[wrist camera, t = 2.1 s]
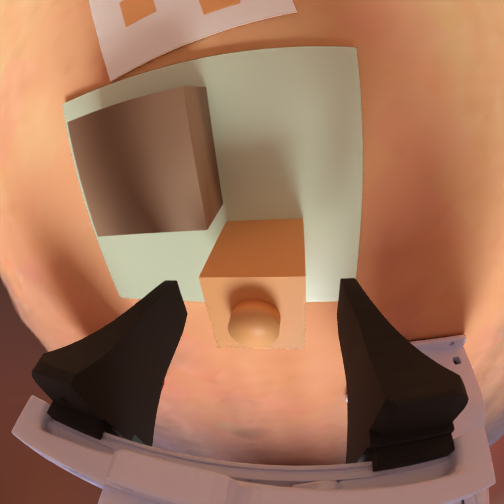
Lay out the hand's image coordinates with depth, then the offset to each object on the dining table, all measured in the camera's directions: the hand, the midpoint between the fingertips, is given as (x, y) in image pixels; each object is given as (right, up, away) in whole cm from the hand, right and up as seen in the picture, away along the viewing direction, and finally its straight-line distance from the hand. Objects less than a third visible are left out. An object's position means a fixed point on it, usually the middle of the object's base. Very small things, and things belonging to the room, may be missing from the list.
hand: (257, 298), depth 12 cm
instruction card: (-4, +15, -3) cm, 16 cm away
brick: (+1, +2, +3) cm, 4 cm away
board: (-3, +5, +2) cm, 6 cm away
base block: (-5, +7, +1) cm, 9 cm away
